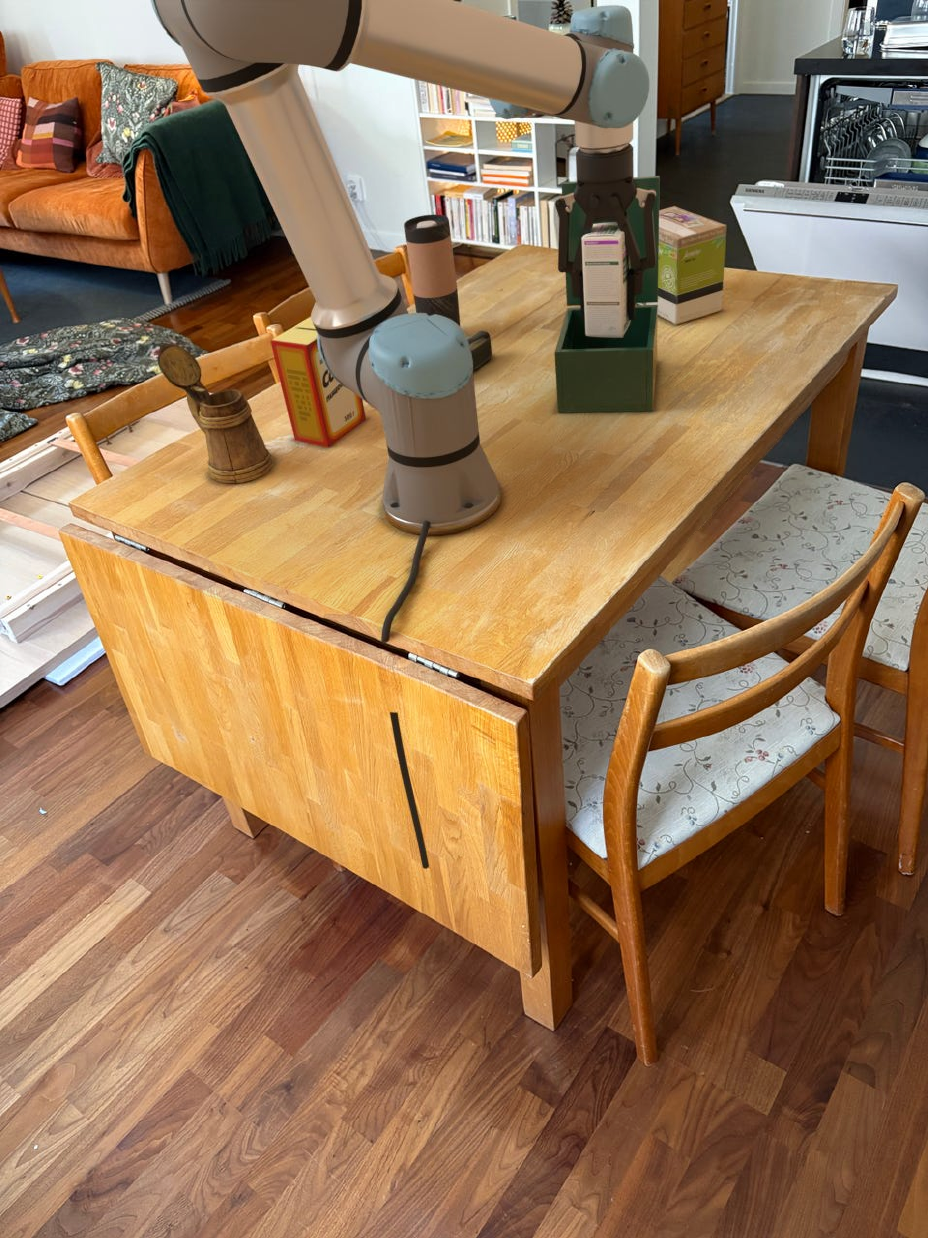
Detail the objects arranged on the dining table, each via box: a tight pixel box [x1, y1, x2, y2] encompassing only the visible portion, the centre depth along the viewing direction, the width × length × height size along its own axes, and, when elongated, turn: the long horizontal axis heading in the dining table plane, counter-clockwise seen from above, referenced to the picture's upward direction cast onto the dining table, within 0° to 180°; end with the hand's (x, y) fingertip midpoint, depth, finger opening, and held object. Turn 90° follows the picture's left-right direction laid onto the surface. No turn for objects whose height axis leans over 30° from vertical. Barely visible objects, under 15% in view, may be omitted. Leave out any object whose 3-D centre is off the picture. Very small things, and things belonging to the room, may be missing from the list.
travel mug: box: [403, 214, 462, 328], centre depth 163 cm, size 8×8×20 cm
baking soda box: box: [269, 316, 367, 448], centre depth 140 cm, size 10×6×16 cm
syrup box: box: [581, 223, 631, 338], centre depth 136 cm, size 6×6×14 cm
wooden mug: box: [157, 342, 274, 484], centre depth 134 cm, size 9×14×18 cm, turn 59°
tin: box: [554, 304, 659, 414], centre depth 143 cm, size 17×14×9 cm
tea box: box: [636, 205, 727, 326], centre depth 164 cm, size 15×10×15 cm, turn 25°
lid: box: [561, 175, 661, 307], centre depth 144 cm, size 18×14×8 cm
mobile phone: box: [467, 330, 493, 372], centre depth 155 cm, size 5×3×15 cm
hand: (608, 316), depth 140 cm, fingers closed on syrup box, 6 cm apart
